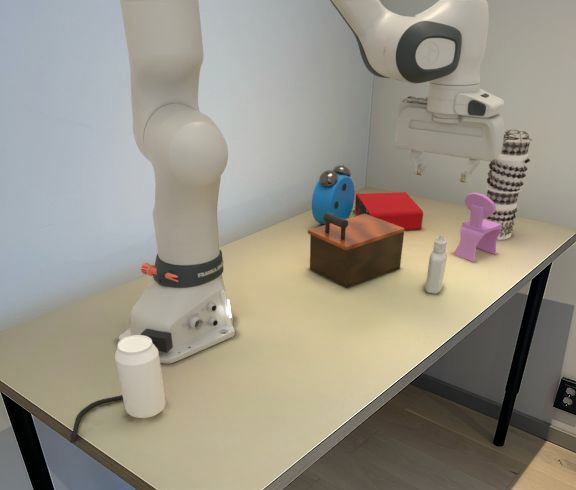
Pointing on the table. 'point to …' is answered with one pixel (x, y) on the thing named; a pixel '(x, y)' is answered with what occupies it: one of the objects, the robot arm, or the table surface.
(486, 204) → the toy chair
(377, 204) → the red device housing
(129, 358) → the beverage can
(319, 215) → the alarm clock
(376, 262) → the chest
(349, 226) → the lid
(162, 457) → the table surface
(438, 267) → the eye dropper bottle
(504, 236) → the decorative candle
